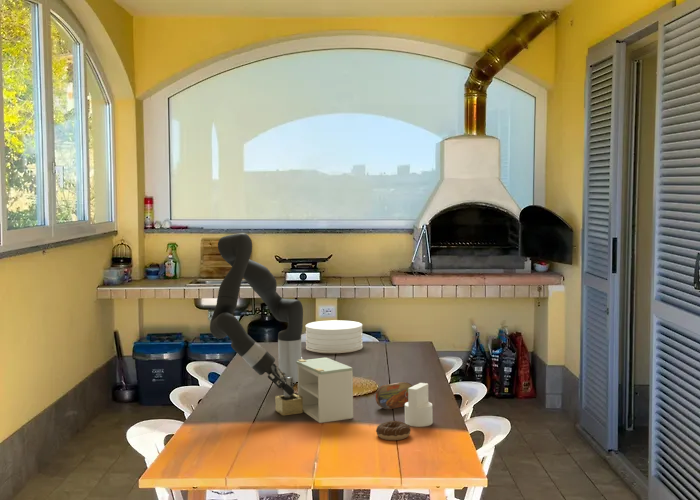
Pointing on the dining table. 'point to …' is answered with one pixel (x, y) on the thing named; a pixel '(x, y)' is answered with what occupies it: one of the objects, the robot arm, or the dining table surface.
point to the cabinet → (325, 389)
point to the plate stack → (334, 336)
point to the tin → (393, 395)
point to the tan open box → (289, 405)
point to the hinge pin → (290, 382)
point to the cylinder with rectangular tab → (418, 406)
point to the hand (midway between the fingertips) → (292, 390)
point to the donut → (393, 430)
